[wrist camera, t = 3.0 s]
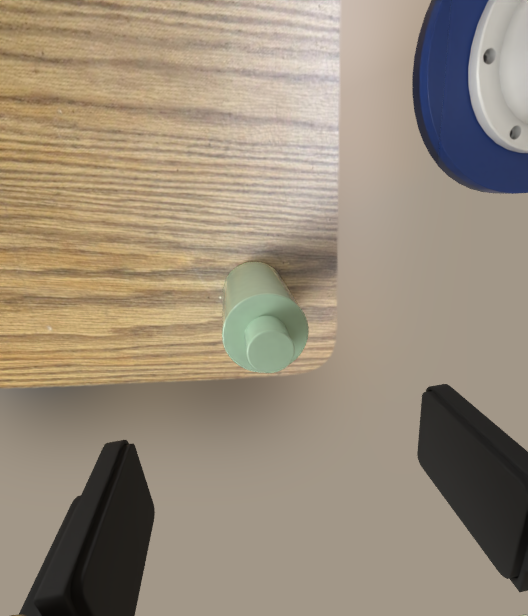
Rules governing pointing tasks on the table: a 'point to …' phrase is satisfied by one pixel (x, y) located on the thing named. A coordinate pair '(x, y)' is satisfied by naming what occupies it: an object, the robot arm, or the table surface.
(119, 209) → the table surface
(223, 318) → the bottle
